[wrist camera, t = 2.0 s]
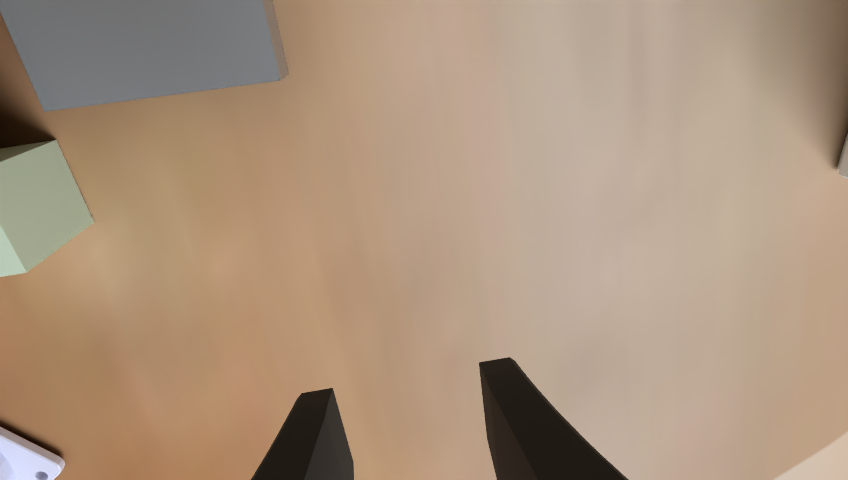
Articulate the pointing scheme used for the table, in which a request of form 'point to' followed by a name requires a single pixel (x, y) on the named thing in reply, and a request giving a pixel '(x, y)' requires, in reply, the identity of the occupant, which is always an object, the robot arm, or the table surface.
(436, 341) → the table surface
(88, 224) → the pale green block
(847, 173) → the tea box
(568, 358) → the table surface
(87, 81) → the gray block
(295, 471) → the robot arm
